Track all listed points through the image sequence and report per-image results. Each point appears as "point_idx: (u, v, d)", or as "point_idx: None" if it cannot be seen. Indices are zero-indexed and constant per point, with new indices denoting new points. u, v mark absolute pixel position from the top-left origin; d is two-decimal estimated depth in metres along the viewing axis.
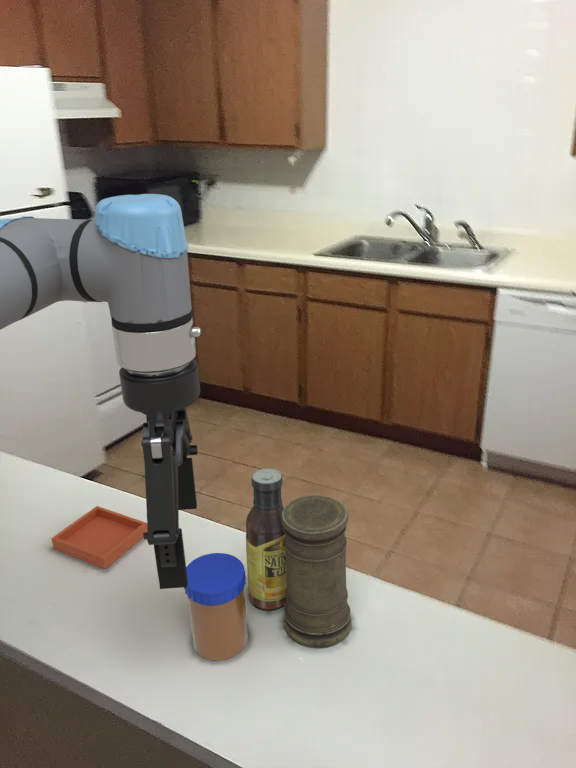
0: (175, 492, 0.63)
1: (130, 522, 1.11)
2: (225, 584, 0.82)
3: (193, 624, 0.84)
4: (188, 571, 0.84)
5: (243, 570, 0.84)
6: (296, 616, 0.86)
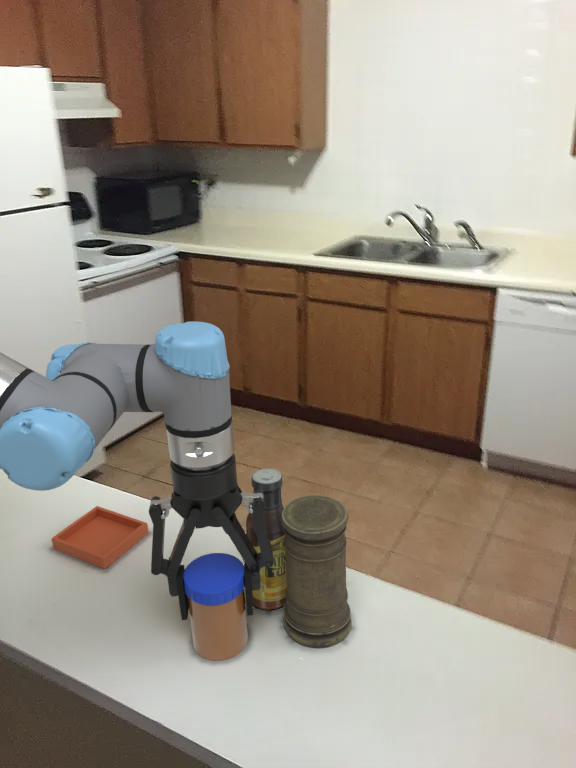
0: (175, 550, 0.81)
1: (130, 522, 1.11)
2: (225, 584, 0.82)
3: (193, 624, 0.84)
4: (188, 571, 0.84)
5: (243, 570, 0.84)
6: (296, 616, 0.86)
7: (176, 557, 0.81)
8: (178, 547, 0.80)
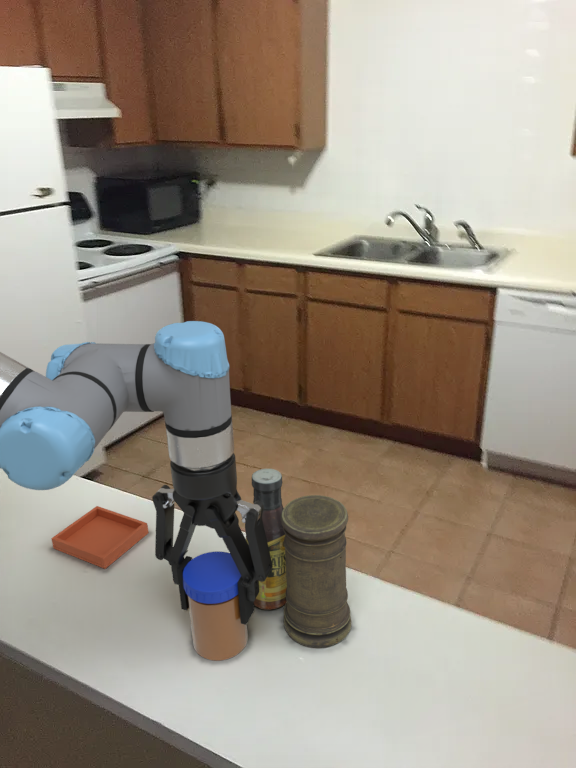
0: (246, 543, 0.81)
1: (130, 522, 1.11)
2: (211, 556, 0.86)
3: (193, 624, 0.84)
4: (235, 578, 0.82)
5: (187, 564, 0.85)
6: (296, 616, 0.86)
7: None
8: None
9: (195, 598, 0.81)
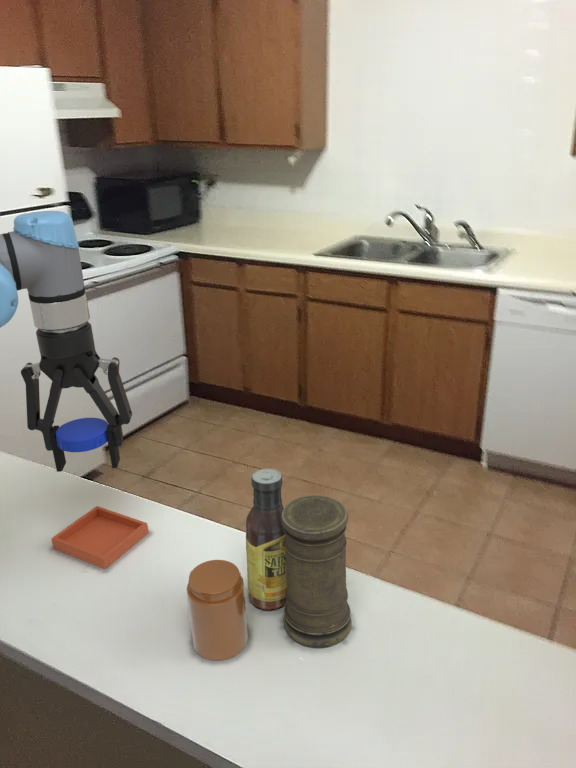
0: (108, 398, 1.00)
1: (130, 522, 1.11)
2: (76, 422, 1.03)
3: (193, 624, 0.84)
4: (103, 429, 1.00)
5: (57, 430, 1.00)
6: (296, 616, 0.86)
7: None
8: None
9: (72, 449, 0.98)
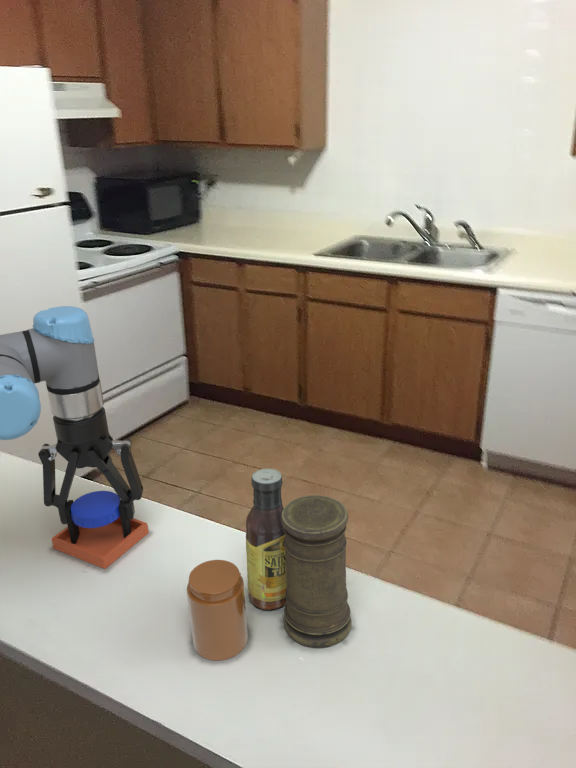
0: (120, 474, 1.05)
1: (130, 522, 1.11)
2: (89, 495, 1.08)
3: (193, 624, 0.84)
4: (115, 504, 1.06)
5: (72, 505, 1.06)
6: (296, 616, 0.86)
7: None
8: None
9: (87, 525, 1.03)
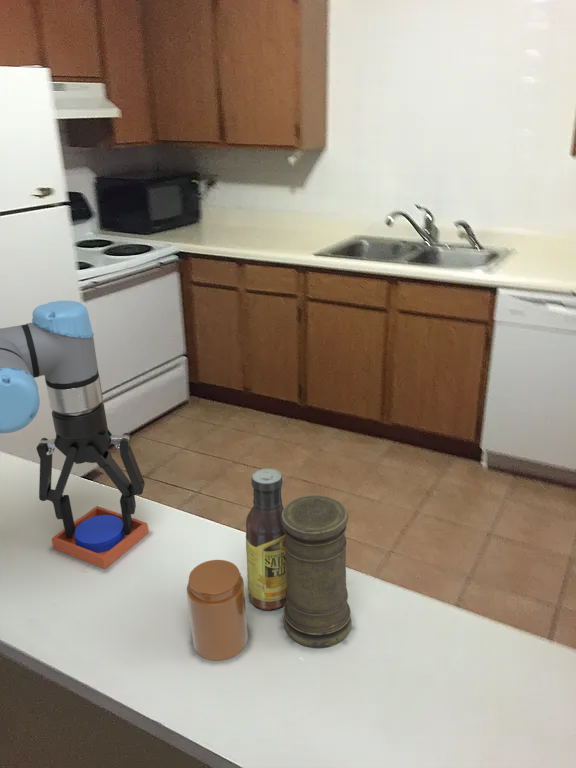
0: (120, 469, 1.05)
1: None
2: (93, 520, 1.10)
3: (193, 624, 0.84)
4: (118, 529, 1.07)
5: (76, 529, 1.08)
6: (296, 616, 0.86)
7: None
8: None
9: None
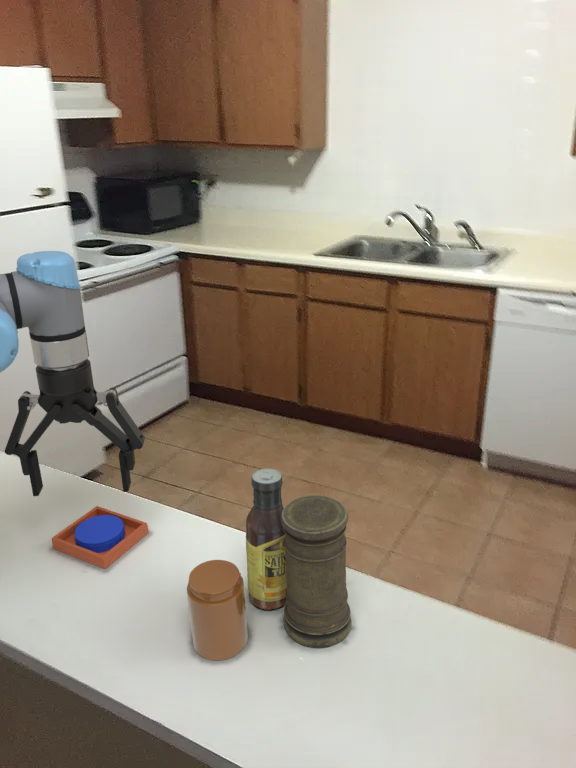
0: (114, 425, 1.01)
1: (130, 522, 1.11)
2: (93, 520, 1.10)
3: (193, 624, 0.84)
4: (118, 529, 1.07)
5: (76, 529, 1.08)
6: (296, 616, 0.86)
7: None
8: None
9: None
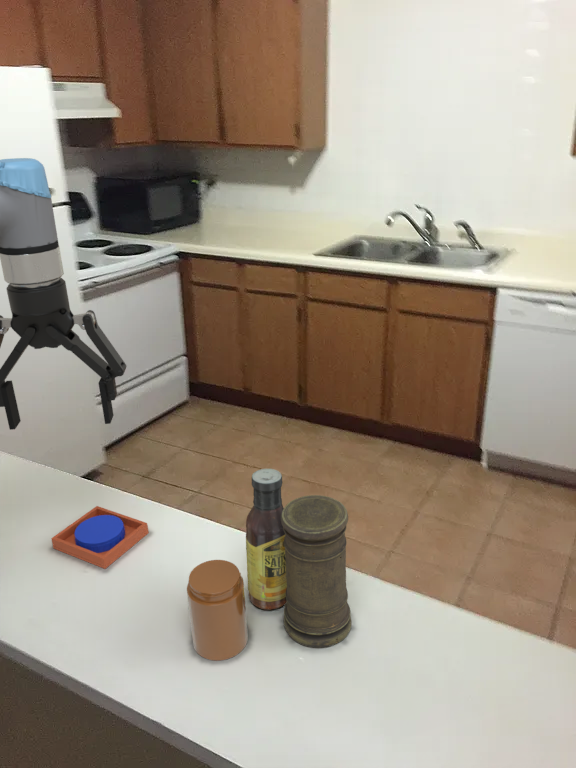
0: (94, 352, 0.95)
1: (130, 522, 1.11)
2: (93, 520, 1.10)
3: (193, 624, 0.84)
4: (118, 529, 1.07)
5: (76, 529, 1.08)
6: (296, 616, 0.86)
7: None
8: None
9: None
